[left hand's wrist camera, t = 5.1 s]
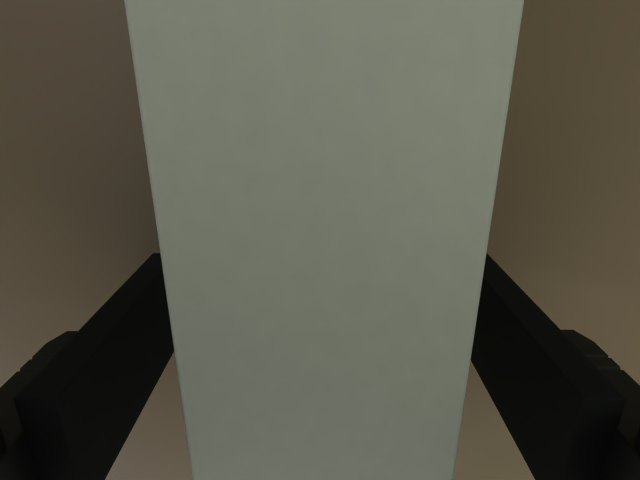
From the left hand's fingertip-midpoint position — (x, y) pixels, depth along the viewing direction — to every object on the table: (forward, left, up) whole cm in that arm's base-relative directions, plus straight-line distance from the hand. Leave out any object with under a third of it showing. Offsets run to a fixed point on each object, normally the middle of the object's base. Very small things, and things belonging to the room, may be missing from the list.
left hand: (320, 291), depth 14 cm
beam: (-25, +5, -1) cm, 26 cm away
